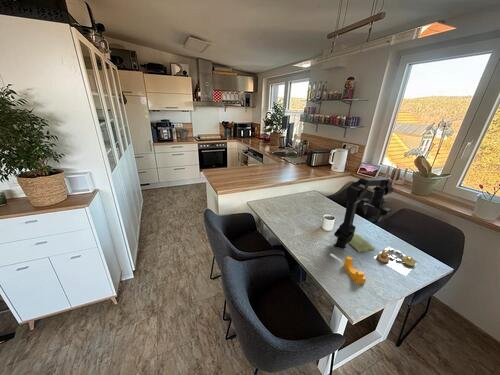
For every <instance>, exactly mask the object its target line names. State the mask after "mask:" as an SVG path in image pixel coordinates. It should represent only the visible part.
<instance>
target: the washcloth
mask: <svg viewBox="0 0 500 375" xmlns="http://www.w3.org/2000/svg"><path fill="white" fill-rule="evenodd" d="M347 244H348V245H350V247H351V248H353V249H354V250H356V251H357V253H364V252H365V253H366V252H368V251H370V252H371V251H372V252H373V251H375V247H374V246H373V245H372V244H370V243H369V242H368V241H367V240H365V238H364V237H362V236H361V235H359V234H358V233H354V236H353V238H352V240H351V241H350V242H348V243H347Z"/></svg>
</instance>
